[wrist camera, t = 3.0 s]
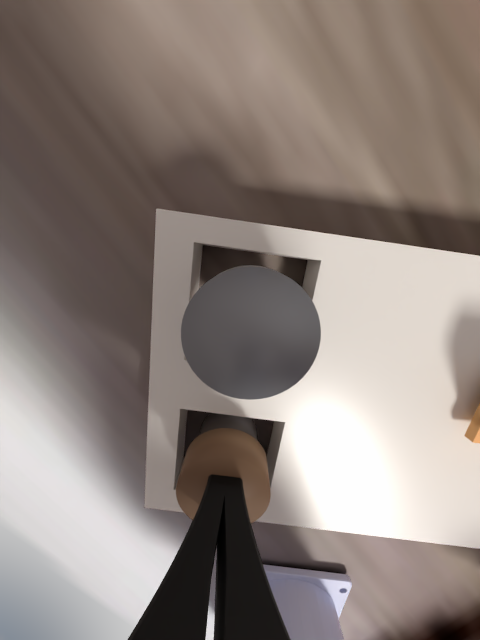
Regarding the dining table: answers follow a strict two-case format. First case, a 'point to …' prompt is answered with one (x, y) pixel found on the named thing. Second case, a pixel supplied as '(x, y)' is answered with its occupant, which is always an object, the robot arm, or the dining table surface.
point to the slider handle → (474, 427)
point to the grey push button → (250, 332)
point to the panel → (339, 383)
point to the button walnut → (225, 463)
